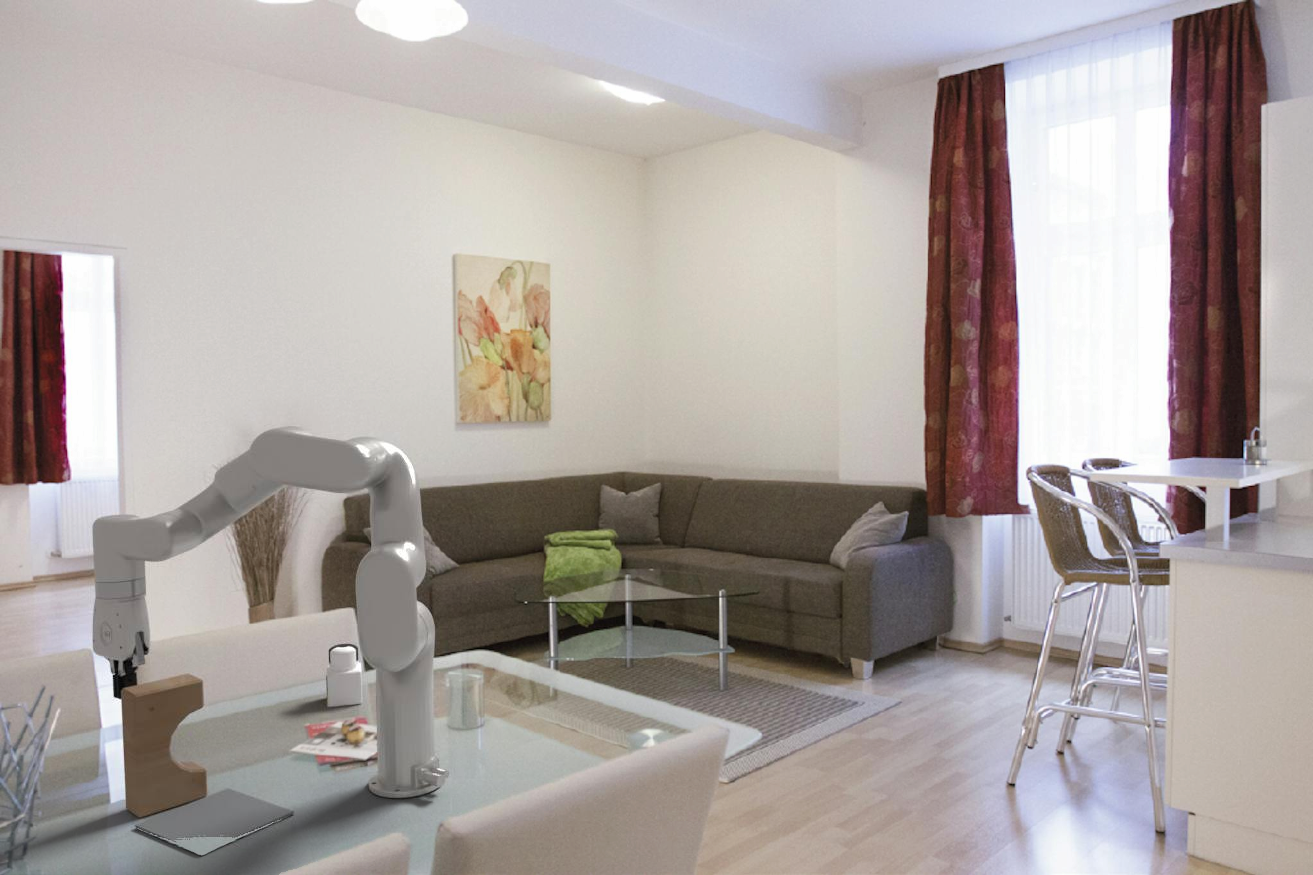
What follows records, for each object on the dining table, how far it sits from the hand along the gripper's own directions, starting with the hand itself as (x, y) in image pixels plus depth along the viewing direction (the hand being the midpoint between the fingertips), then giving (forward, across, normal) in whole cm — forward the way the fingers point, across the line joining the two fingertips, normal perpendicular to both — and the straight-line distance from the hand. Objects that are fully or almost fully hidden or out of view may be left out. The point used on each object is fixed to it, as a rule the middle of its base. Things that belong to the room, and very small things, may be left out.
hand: (125, 696), depth 168 cm
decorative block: (+16, +11, 0) cm, 20 cm away
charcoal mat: (+16, +24, 0) cm, 29 cm away
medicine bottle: (+16, -5, +50) cm, 53 cm away
